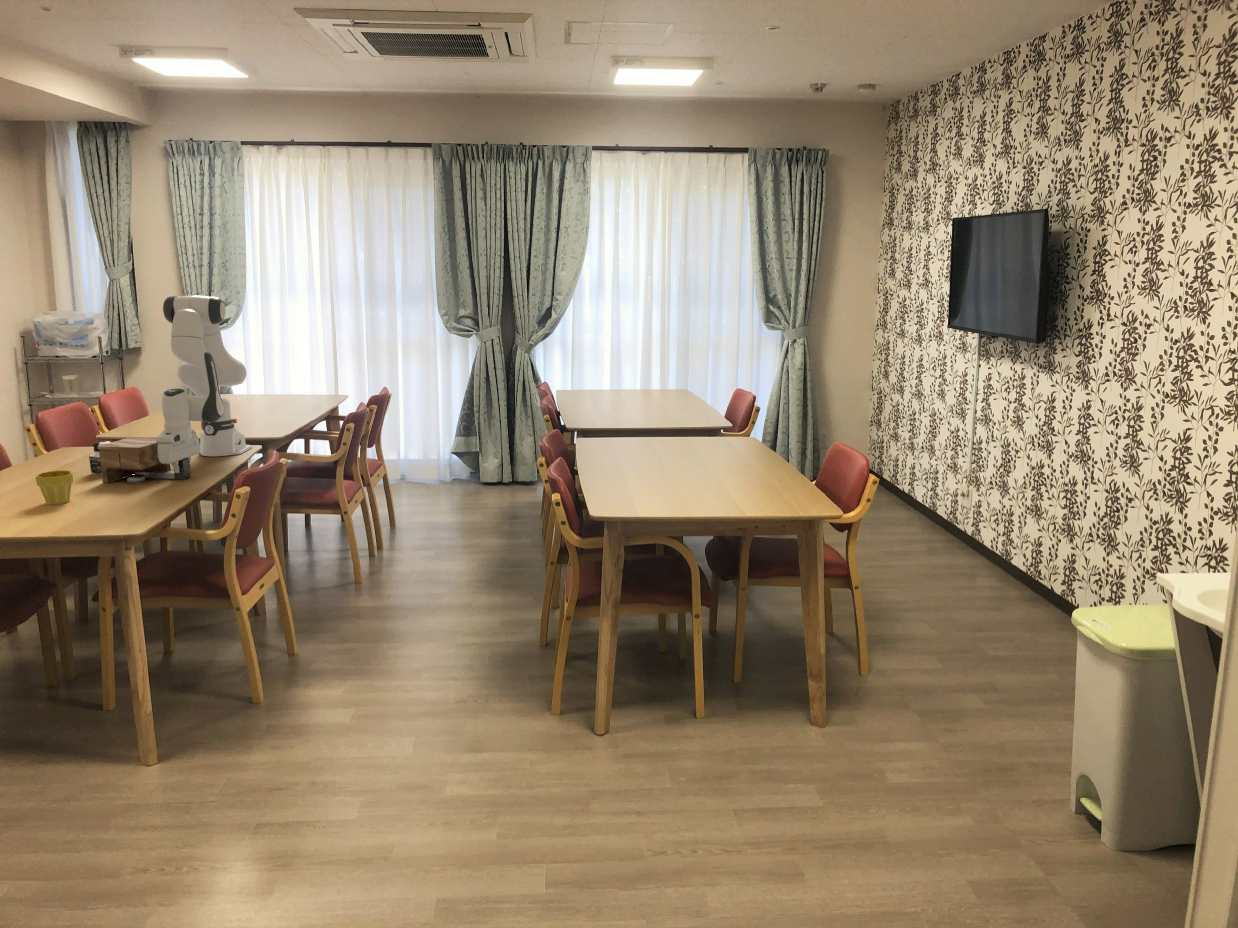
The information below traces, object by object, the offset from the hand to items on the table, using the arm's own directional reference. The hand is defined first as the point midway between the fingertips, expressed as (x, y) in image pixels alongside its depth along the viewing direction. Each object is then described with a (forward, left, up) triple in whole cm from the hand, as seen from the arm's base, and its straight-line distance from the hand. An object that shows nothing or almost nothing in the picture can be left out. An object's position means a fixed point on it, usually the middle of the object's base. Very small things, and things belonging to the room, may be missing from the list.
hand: (182, 470), depth 335 cm
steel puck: (+8, -13, -3) cm, 16 cm away
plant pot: (+38, -20, -3) cm, 43 cm away
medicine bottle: (-4, -34, -3) cm, 34 cm away
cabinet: (+3, -16, -3) cm, 16 cm away
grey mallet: (0, -8, -3) cm, 8 cm away
